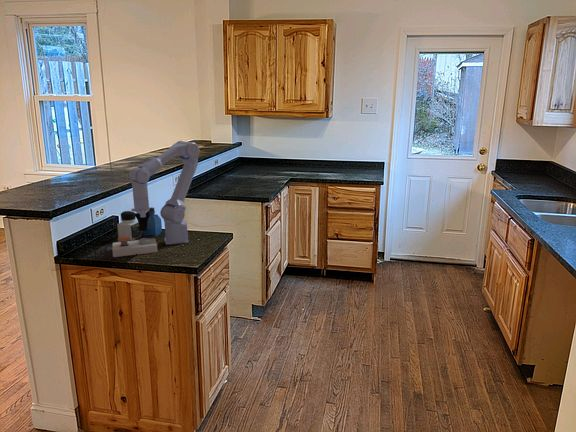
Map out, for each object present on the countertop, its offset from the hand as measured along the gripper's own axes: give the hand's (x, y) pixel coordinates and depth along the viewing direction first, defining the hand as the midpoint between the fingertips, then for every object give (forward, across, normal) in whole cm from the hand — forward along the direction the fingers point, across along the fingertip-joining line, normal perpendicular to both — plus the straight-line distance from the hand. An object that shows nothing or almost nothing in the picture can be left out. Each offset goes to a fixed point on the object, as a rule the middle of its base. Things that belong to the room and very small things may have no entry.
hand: (143, 230), depth 187 cm
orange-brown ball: (+6, 0, -8) cm, 10 cm away
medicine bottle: (+9, -20, -6) cm, 22 cm away
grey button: (+8, 0, 0) cm, 8 cm away
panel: (+8, 0, -4) cm, 9 cm away
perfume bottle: (+9, -23, +4) cm, 25 cm away
